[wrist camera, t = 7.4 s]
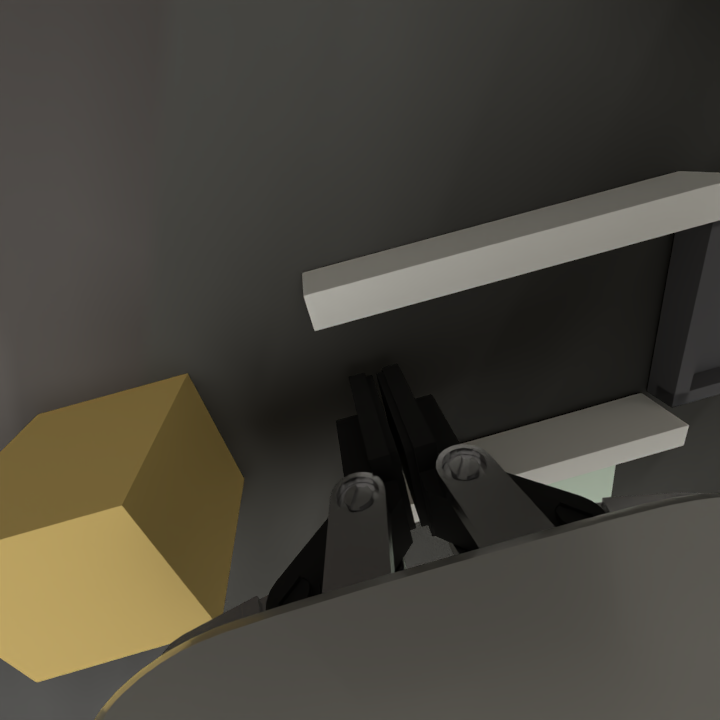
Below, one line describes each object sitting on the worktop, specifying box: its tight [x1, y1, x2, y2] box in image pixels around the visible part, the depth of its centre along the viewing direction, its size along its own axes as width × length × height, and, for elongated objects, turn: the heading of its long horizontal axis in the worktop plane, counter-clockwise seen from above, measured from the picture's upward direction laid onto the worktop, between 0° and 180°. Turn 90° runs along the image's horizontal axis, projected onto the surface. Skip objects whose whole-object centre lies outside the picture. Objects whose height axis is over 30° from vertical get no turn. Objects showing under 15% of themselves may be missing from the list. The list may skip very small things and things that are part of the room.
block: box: [0, 373, 244, 682], centre depth 11 cm, size 5×5×6 cm
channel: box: [302, 171, 720, 522], centre depth 13 cm, size 12×10×2 cm
